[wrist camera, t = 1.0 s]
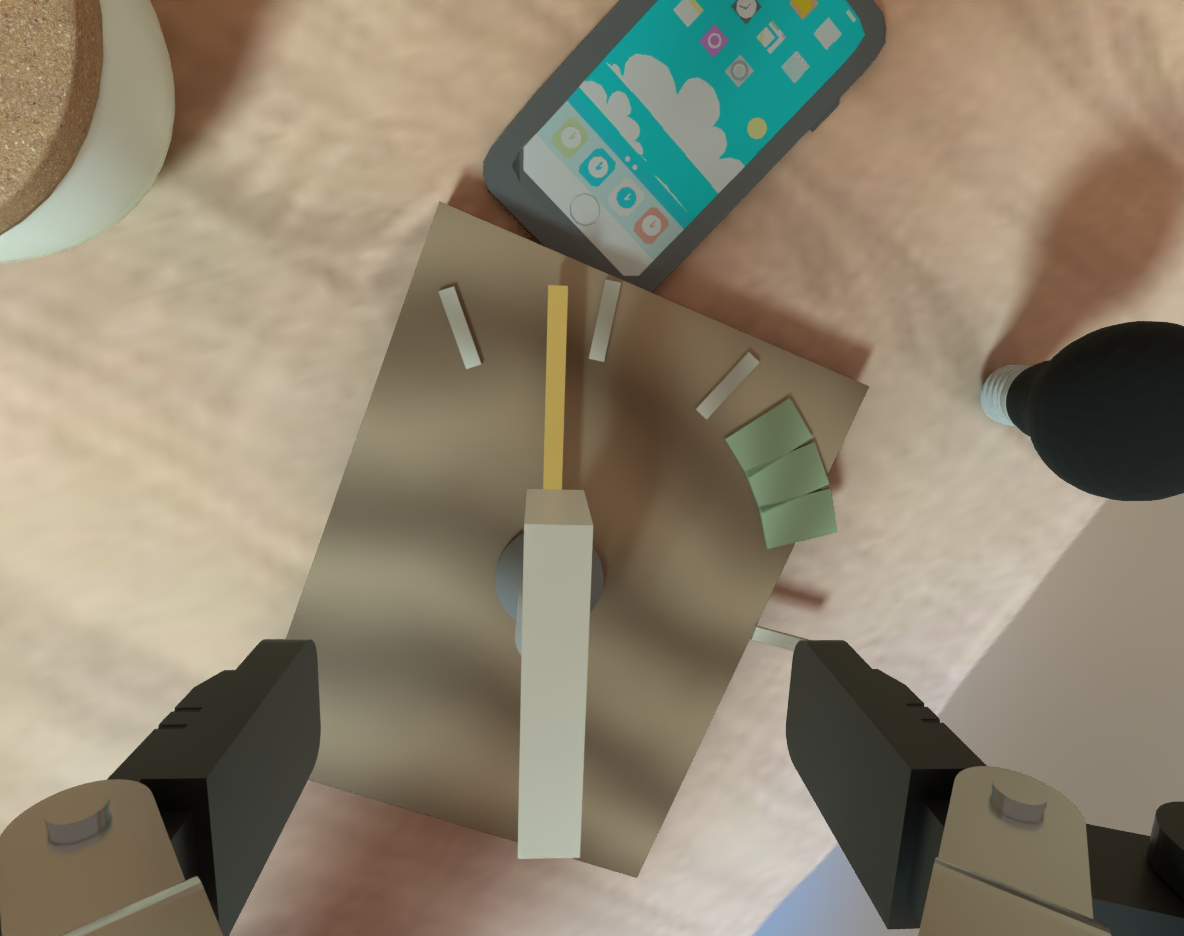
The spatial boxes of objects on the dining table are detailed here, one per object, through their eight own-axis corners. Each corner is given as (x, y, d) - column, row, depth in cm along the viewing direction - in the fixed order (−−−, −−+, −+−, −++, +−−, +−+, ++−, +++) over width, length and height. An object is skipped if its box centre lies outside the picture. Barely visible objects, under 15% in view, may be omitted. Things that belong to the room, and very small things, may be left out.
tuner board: (689, 870, 33) (697, 900, 32) (257, 739, 30) (240, 765, 29) (913, 409, 29) (936, 415, 28) (445, 208, 27) (438, 199, 25)
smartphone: (463, 163, 26) (753, -158, 24) (466, 169, 27) (745, -139, 25) (625, 328, 27) (905, 37, 26) (622, 328, 28) (892, 47, 27)
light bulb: (1085, 396, 30) (1348, 429, 20) (979, 486, 30) (1186, 561, 21) (1010, 293, 29) (1252, 275, 19) (901, 388, 29) (1082, 418, 20)
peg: (575, 698, 29) (590, 857, 20) (517, 698, 28) (507, 859, 20) (590, 287, 25) (615, 267, 17) (524, 285, 25) (516, 263, 17)
